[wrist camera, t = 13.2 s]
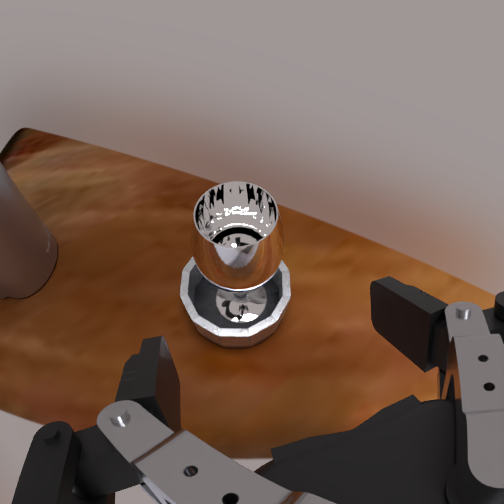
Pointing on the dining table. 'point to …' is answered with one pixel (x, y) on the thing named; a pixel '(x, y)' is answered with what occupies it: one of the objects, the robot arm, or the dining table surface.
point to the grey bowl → (222, 330)
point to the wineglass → (237, 246)
